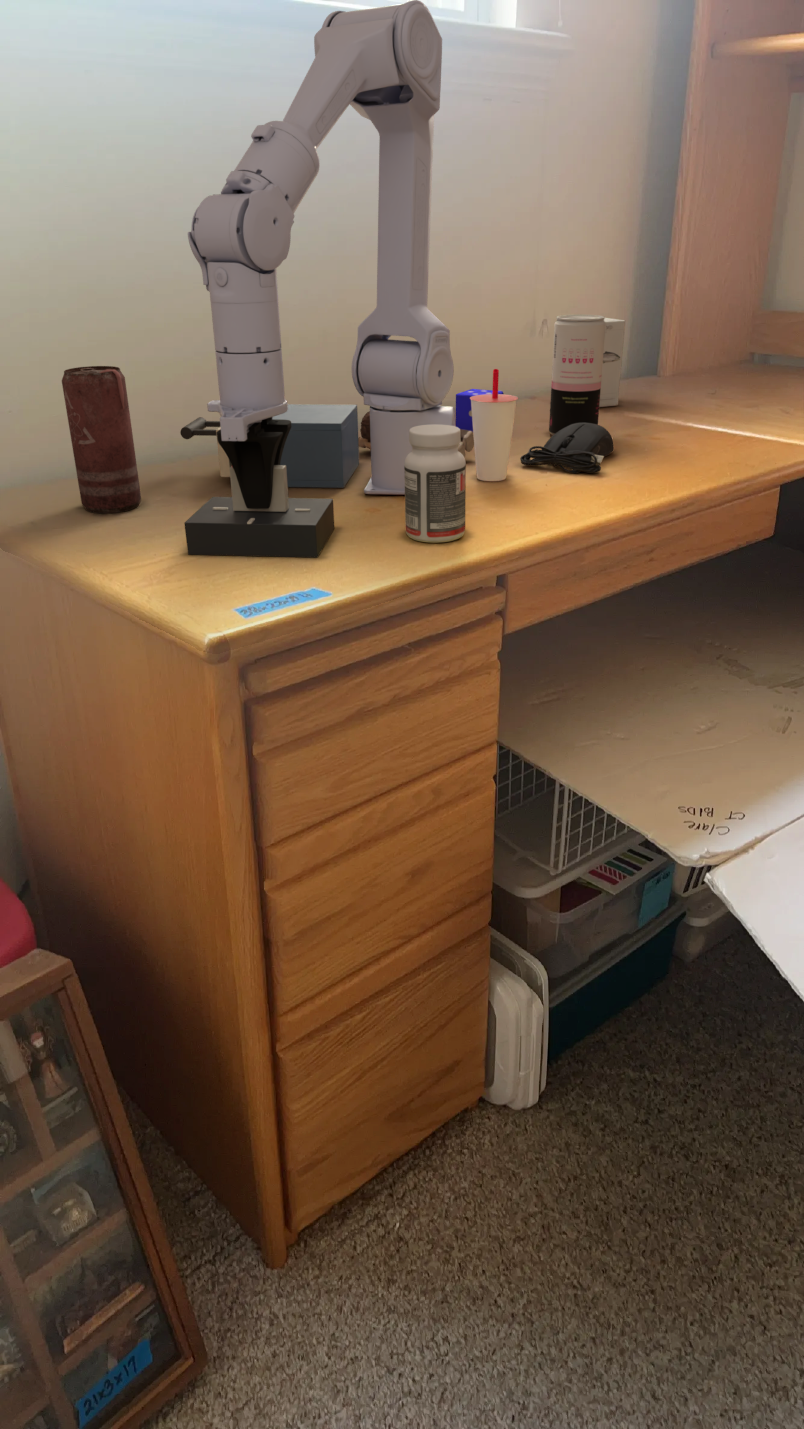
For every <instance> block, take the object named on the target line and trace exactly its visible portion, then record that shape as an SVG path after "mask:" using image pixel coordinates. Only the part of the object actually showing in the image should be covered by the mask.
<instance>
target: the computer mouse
mask: <svg viewBox="0 0 804 1429" xmlns="http://www.w3.org/2000/svg"><path fill="white" fill-rule="evenodd" d="M614 445H615V444H614V439H613V438H612V435H611V433H610V432H609V431H608V430H607V429H606V428H605V427H603V426H602V425H599V424H598V425H597V424H592V423H575V424H572V425H569V426H567V427H565V428H563V429H561V430H560V431H558V432H557V433H555V434H554V435H551V437H549V438H548V439H547V441H546V442H545V444H544V445H543V446H541V445H535V446H532V447H530V448H529V449H528V451H527V453H525V454H523V455H521V456H520V458H519V459H520V464H522V465H524V466H534V467H535V466H546V465H554V467H555V468H557V467H559V468H560V469H562V470H563V471H565V472H567V473H569V474H570V473H571V474H580V473H581V472H584V473H588V474H589V473H590V474H597V473H599V472H600V471H601V470H602V467H601V464H602V462H603V460H604V458H605V457H608V456H609V455H611V454H612V453H613V452H614V450H615V446H614ZM567 468H568V469H567ZM569 469H571V470H569Z"/></svg>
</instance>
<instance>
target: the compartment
mask: <svg viewBox="0 0 804 1429" xmlns="http://www.w3.org/2000/svg"><path fill="white" fill-rule="evenodd" d="M287 404H288V410H287V411H286V412H285V413H283V414H280V415H277V416H273V417H272V419H278V420H290V421H291V429H290V432H289V434H288V437H287V439H286V442H285V445H284V449H283V452H282V457H281V462H280V465H286V470H287V485H288V488H311V489H313V488H315V489H316V488H318V489H319V488H322V489H323V488H324V489H344V488H345V486H346V485H347V483H348V482H349V481H350V479H351V478H352V476H353V474H354V473H355V471H356V470H357V468H358V466H359V465H360V447H359V442H358V438H359V416H358V413H359V412H358V404H326V403H325V404H324V403H323V404H317V403H313V404H311V403H310V404H309V403H308V404H307V403H306V404H305V403H301V404H299V403H297V404H296V403H287Z"/></svg>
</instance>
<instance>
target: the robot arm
mask: <svg viewBox="0 0 804 1429" xmlns="http://www.w3.org/2000/svg"><path fill="white" fill-rule="evenodd" d="M313 45H314V49H313V50H314V59H313V60H312V63H311V65H310V67H309V69H308V70H307V73H306V75H305V77H304V79H303V80H302V82H301V84H300V86H299V88H298V90H297V91H296V94H295V96H294V98H293V100H292V101H291V104H290V106H289V108H288V110H287V111H286V114H285V115H284V118H283V120H271V121H268V122H265V123H264V124H258V125H256V126H255V128H254V130H253V131H252V133H251V134H250V138H251V139H252V142H251V143H250V144H249V146H248V148H247V149H246V151H245V152H244V154H243V155H242V157H241V159H240V161H239V162H238V164H237V165H236V167H235V168H234V170H231V171H230V172H229V174H228V175H227V177H226V179H225V182H226V183H225V184H224V186H223V187H222V189H221V191H220V193H215V194H212V195H208V196H206V197H205V198H203V200H202V201H201V202H200V204H199V205H198V206H197V208H196V209H195V210H194V213H193V215H192V218H191V219H192V220H191V227H190V228H191V229H190V231H188V232H187V239H188V243H189V247H190V250H191V252H192V254H193V256H194V259H195V260H196V261H197V262H198V264H199V266H200V269H201V273H202V282H203V285H204V286H205V289H206V291H207V292H208V293H209V298H210V299H209V300H210V311H211V321H212V330H213V342H214V350H215V362H216V373H217V384H218V395H219V399H215V400H214V399H213V400H210V401H209V402H207V404H206V405H207V407H206V408H207V412H210V413H213V412H214V413H218V414H219V421H220V427H221V429H220V430H219V431H217V436H216V441H217V440H218V443H219V444H220V446H221V447H222V448H223V450H224V451H225V453H226V455H227V456H228V458H229V460H230V462H231V464H232V467H233V469H234V471H235V474H236V477H237V480H238V483H239V487H240V490H241V493H242V496H243V499H244V502H245V505H246V507H247V508H250V509H268V508H269V507H270V503H271V498H272V486H273V469H274V465H280V462H281V457H282V452H283V449H284V445H285V442H286V439H287V437H288V434H289V432H290V429H291V421H290V420H278V419H272V417H273V416H277V415H280V414H283V413H285V412H286V411H287V410H288V404H289V403H288V400H287V399H286V393H285V380H284V366H283V365H284V364H283V350H282V335H281V334H282V333H281V318H280V306H279V289H278V288H279V287H278V272H277V271H278V270H277V268H278V267H279V266H281V264H282V263H283V262H284V261H285V260H286V259H287V258H288V256H289V252H290V246H291V232H292V227H293V225H294V223H295V221H294V218H295V213H296V211H297V209H298V207H299V206H300V204H301V203H302V201H303V200H304V197H305V196H306V195H307V192H309V189H310V188H311V186H312V184H313V183H314V181H315V179H316V178H317V176H318V174H319V172H320V156H319V153H318V151H317V150H318V148H319V147H320V145H321V144H322V143H323V141H324V140H325V139H326V137H327V136H328V135H329V134H330V132H331V131H332V129H333V128H334V126H335V125H336V123H337V122H338V121H339V120H340V118H341V117H342V116H343V114H344V112H346V110H347V108H348V107H349V106H351V107H352V109H354V110H355V111H356V113H358V114H359V115H360V117H363V118H364V119H366V120H369V121H370V122H371V124H372V125H373V127H374V128H375V129H376V131H377V133H378V136H379V142H378V143H379V147H378V148H379V149H378V150H379V152H378V154H379V156H378V200H377V201H378V207H377V214H378V215H377V258H376V259H377V261H376V262H377V263H376V264H377V265H376V267H377V268H376V269H377V270H376V307H375V308H374V309H373V311H371V313H369V315H368V316H366V317H365V319H364V320H363V321H361V323H359V325H358V326H357V341H356V346H355V350H354V353H353V356H352V359H351V378H352V381H353V382H352V383H353V385H354V388H355V390H356V391H357V392H358V394H359V395H360V396H361V397H363V405H365V406H369V411H370V439H371V451H370V468H371V470H370V471H371V472H370V473H371V475H370V476H371V477H370V479H369V480H368V482H367V483H366V486H365V487H364V489H363V494H365V495H393V496H395V495H396V496H399V495H400V496H403V495H404V496H405V471H404V465H405V459H406V457H407V455H408V454H409V453H411V452H412V446H411V444H410V443H409V430H410V429H411V428H412V427H415V426H420V425H431V424H440V425H450V426H455V419H456V408H455V407H454V406H447V405H443V401H444V400H445V399H446V397H447V396H448V394H449V393H450V390H451V388H452V385H453V381H454V375H455V374H454V371H455V369H454V368H455V367H454V360H453V357H452V352H451V343H450V335H451V330H450V329H449V328H448V326H446V324H445V323H443V322H442V321H441V320H440V319H439V318H438V317H437V316H436V315H435V314H434V313H433V312H432V311H431V310H430V309H429V308H428V298H429V297H428V296H429V269H430V244H431V243H430V241H431V217H432V216H431V212H432V189H433V188H432V187H433V161H434V160H433V158H434V131H435V130H434V129H435V114H436V113H437V112H438V111H439V110H440V107H441V87H442V63H443V60H442V59H443V37H442V35H441V33H440V30H439V29H438V27H437V25H436V22H435V20H434V18H433V15H432V13H431V11H430V10H429V8H428V6H427V5H426V4H424V2H422V1H421V0H408V1H406V2H404V3H400V4H393V5H392V4H391V5H386V6H385V5H384V6H378V7H371V8H363V9H358V10H357V9H355V10H349V11H344V10H335V11H332V12H330V13H329V14H328V15H327V16H326V18H325V19H324V20H323V23H322V26H321V28H320V29H319V30H318V31H317V32H316V33H315V34H314V37H313ZM392 336H394V337H410V338H412V339H415V340H404V339H389V338H391V337H392Z"/></svg>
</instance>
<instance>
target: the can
mask: <svg viewBox="0 0 804 1429" xmlns="http://www.w3.org/2000/svg"><path fill="white" fill-rule="evenodd" d="M61 384H62V385H61V386H62V391H63V392H62V393H63V398H64V404H65V405H64V406H65V410H66V416H67V424H68V429H69V434H70V441H71V446H72V447H71V448H72V453H73V454H72V455H73V458H74V459H73V460H74V466H75V471H76V479H77V483H78V490H79V496H80V503H81V505H82V506H83V508H84V509H85V510H86V511H87V512H90V513H94V514H116V513H124V512H129V511H131V510H134V509H136V508H137V507H139V506H140V503H141V501H142V494H141V486H140V479H139V471H138V464H137V457H136V450H135V442H134V435H133V428H132V419H131V412H130V406H129V405H130V404H129V398H128V391H127V382H126V377H125V375H124V374H123V373H122V371H121V367H118V366H111V365H91V366H78V367H73V368H68V369H65V370H63V376H62V378H61Z"/></svg>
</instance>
